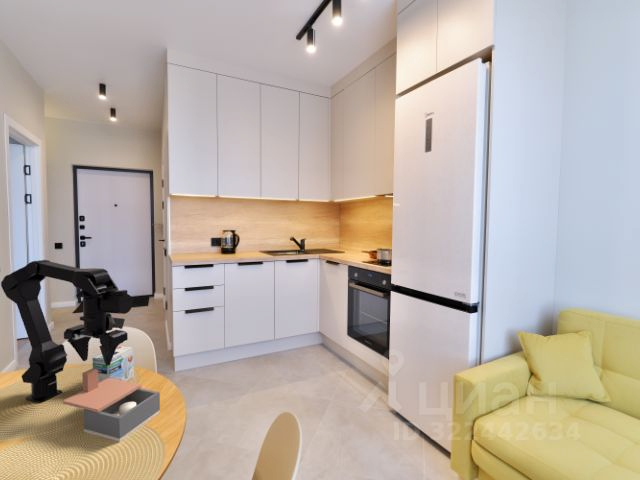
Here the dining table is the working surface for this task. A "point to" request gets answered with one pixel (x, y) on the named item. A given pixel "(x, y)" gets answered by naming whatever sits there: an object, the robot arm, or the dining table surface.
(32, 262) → the robot arm
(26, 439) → the dining table surface
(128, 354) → the light bulb box
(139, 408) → the carton
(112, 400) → the lid
